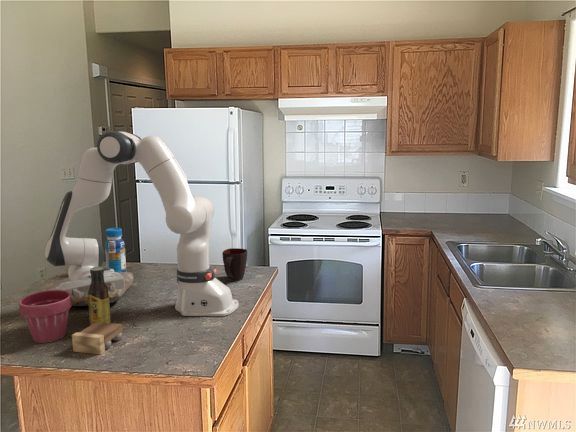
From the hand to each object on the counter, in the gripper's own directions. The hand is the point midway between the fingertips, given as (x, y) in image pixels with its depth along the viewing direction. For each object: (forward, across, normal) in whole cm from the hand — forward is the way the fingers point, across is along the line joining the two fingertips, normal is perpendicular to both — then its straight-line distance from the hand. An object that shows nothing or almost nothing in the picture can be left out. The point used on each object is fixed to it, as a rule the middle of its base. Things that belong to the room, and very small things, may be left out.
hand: (97, 292), depth 155 cm
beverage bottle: (-57, +20, +12) cm, 61 cm away
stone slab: (-31, +3, +12) cm, 33 cm away
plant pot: (-1, -15, +12) cm, 19 cm away
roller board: (+14, -4, +12) cm, 18 cm away
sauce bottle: (+1, 0, +12) cm, 12 cm away
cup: (-18, +58, +12) cm, 62 cm away
